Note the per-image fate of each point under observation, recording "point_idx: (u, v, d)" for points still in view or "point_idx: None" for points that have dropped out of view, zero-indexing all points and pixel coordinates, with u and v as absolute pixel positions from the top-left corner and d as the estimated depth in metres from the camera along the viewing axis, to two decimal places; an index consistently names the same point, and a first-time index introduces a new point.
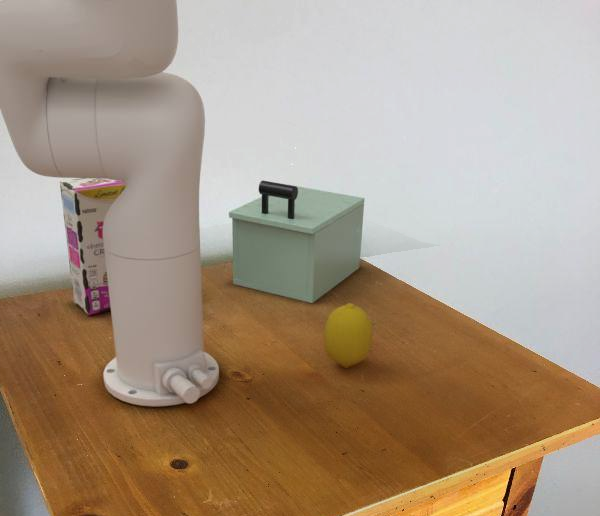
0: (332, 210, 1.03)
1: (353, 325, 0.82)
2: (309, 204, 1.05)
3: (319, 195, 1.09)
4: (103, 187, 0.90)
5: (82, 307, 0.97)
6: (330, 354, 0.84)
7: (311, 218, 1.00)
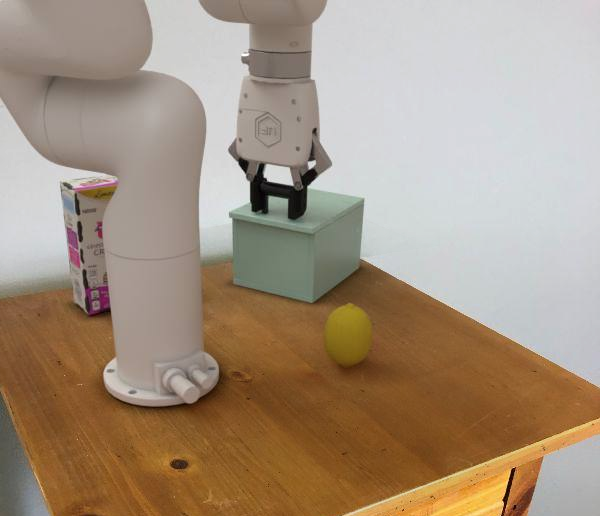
0: (332, 210, 1.03)
1: (353, 325, 0.82)
2: (309, 204, 1.05)
3: (319, 195, 1.09)
4: (103, 187, 0.90)
5: (82, 307, 0.97)
6: (330, 354, 0.84)
7: (311, 218, 1.00)
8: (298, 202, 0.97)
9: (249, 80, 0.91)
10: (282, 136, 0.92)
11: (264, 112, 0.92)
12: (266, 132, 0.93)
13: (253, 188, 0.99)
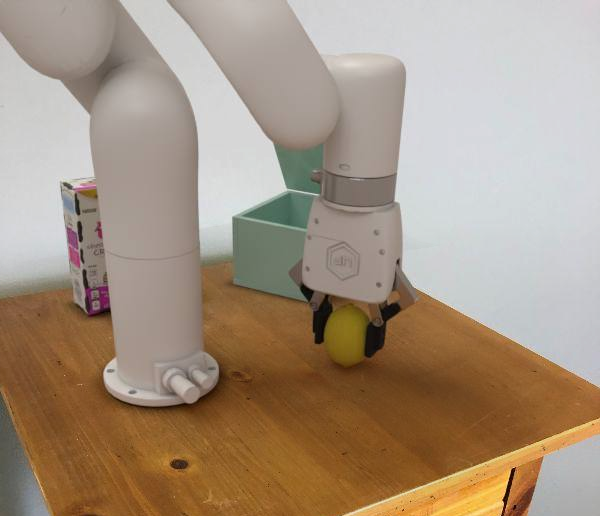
0: None
1: (353, 325, 0.82)
2: None
3: None
4: None
5: (82, 307, 0.97)
6: (330, 354, 0.84)
7: None
8: (375, 338, 0.82)
9: (321, 204, 0.76)
10: (360, 269, 0.77)
11: (339, 241, 0.77)
12: (340, 263, 0.78)
13: (318, 319, 0.84)
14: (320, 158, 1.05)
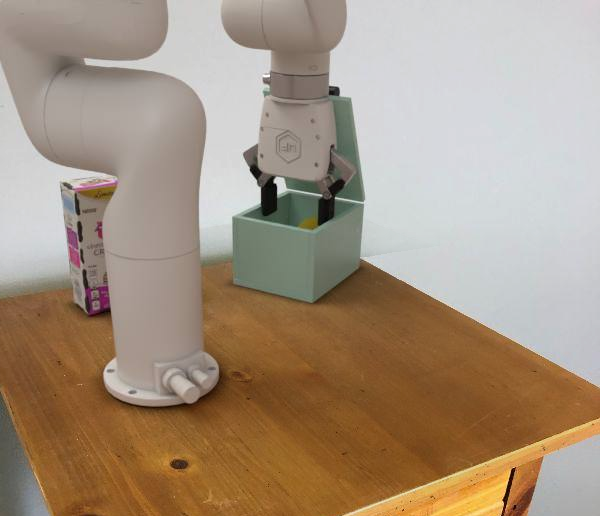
0: None
1: None
2: None
3: None
4: (103, 187, 0.90)
5: (82, 307, 0.97)
6: None
7: None
8: (326, 210, 1.02)
9: (270, 100, 0.97)
10: (302, 153, 0.98)
11: (285, 130, 0.97)
12: (286, 149, 0.98)
13: (264, 193, 1.04)
14: None
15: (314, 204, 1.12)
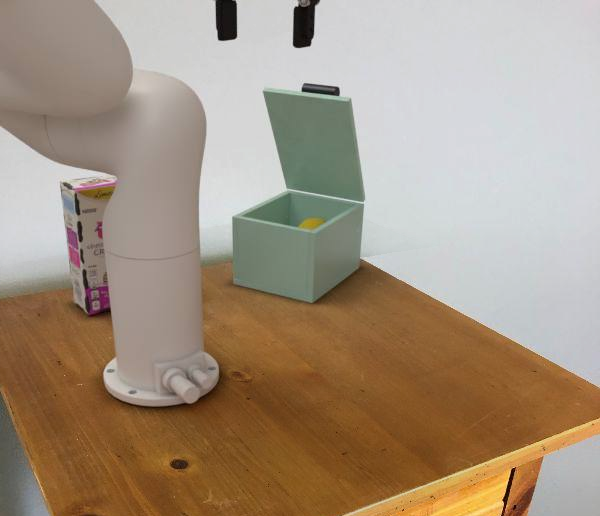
0: None
1: (322, 222, 1.10)
2: None
3: None
4: (103, 187, 0.90)
5: (82, 307, 0.97)
6: None
7: None
8: (303, 24, 0.80)
9: None
10: None
11: None
12: None
13: (219, 8, 0.83)
14: (322, 156, 1.05)
15: (314, 204, 1.12)
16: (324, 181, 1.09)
